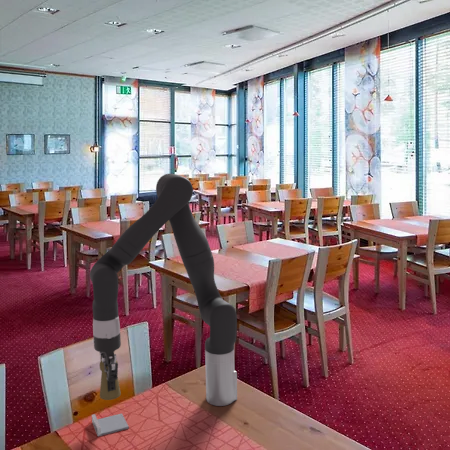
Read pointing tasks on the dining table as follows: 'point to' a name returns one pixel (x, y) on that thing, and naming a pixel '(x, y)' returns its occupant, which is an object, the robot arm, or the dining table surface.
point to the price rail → (96, 425)
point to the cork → (104, 388)
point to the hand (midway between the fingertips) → (109, 387)
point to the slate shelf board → (112, 424)
